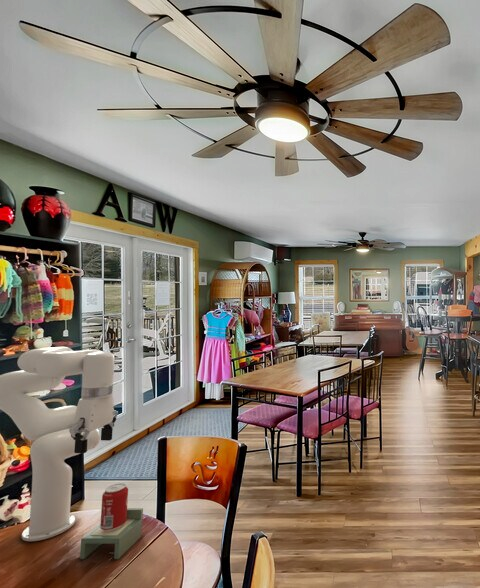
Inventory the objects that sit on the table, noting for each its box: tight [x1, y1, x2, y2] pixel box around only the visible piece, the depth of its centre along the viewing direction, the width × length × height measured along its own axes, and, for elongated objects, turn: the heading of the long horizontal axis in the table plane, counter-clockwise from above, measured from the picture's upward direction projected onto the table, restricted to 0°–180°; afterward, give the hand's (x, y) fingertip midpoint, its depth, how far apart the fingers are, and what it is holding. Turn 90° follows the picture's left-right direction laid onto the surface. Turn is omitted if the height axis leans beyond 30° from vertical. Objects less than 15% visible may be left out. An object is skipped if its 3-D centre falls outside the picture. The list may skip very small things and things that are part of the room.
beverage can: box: [100, 482, 129, 532], centre depth 106 cm, size 6×6×12 cm
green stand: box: [79, 507, 144, 560], centre depth 106 cm, size 11×10×9 cm
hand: (94, 446), depth 108 cm, fingers open, 9 cm apart
